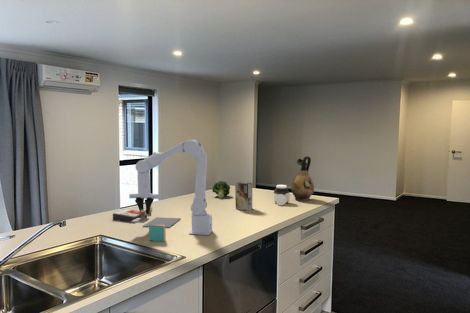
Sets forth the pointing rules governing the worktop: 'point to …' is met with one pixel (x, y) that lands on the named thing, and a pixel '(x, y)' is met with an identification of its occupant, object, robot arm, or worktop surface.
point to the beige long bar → (143, 216)
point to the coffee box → (243, 195)
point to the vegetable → (221, 189)
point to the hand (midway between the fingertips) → (144, 213)
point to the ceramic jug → (303, 181)
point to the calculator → (127, 215)
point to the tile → (157, 232)
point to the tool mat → (163, 221)
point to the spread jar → (281, 194)
